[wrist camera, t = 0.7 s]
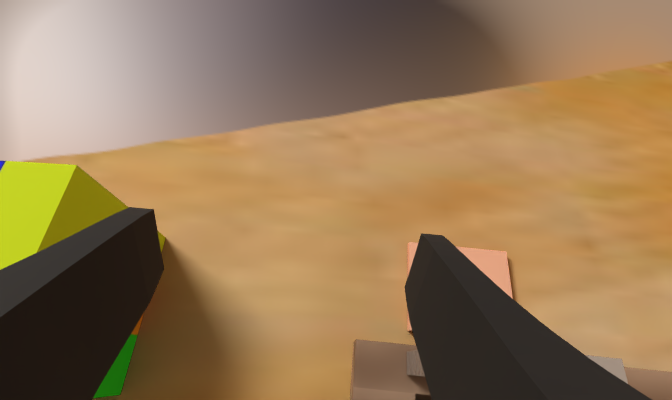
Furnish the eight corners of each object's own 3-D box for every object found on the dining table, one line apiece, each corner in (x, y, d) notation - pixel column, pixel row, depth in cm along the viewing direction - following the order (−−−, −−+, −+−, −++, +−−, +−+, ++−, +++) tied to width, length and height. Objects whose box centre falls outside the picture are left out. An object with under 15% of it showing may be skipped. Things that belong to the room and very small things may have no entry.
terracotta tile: (513, 341, 22) (518, 341, 22) (407, 330, 22) (409, 330, 22) (502, 254, 25) (506, 251, 24) (407, 244, 25) (409, 242, 25)
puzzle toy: (29, 230, 25) (-137, 152, 16) (166, 238, 25) (76, 165, 16) (-45, 385, 20) (-334, 399, 11) (121, 394, 20) (-39, 415, 12)
